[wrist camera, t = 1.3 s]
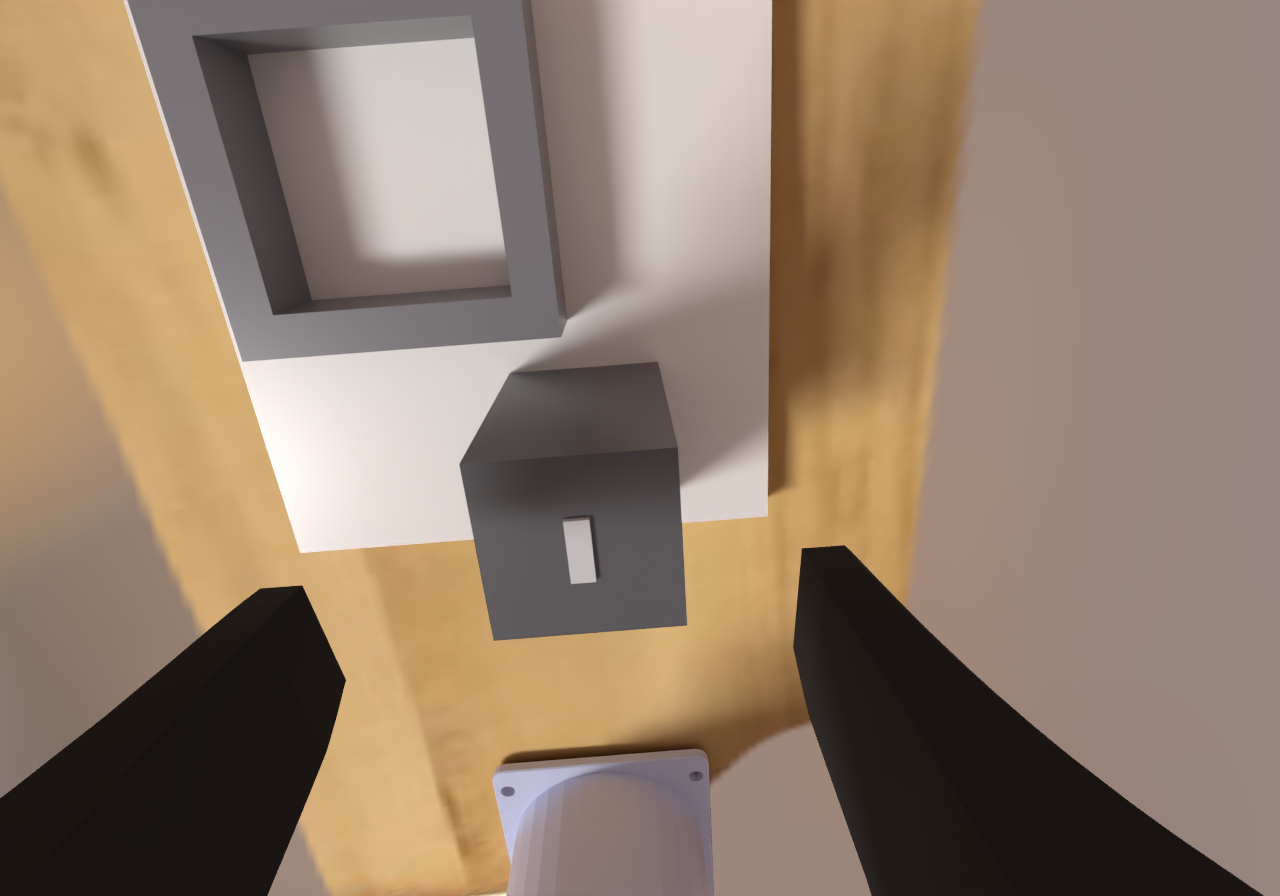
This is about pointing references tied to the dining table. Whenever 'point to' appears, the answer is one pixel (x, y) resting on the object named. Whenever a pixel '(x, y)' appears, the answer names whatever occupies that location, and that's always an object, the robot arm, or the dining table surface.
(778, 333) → the dining table surface
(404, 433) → the outlet plate
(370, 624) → the dining table surface
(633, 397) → the block
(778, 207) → the dining table surface
